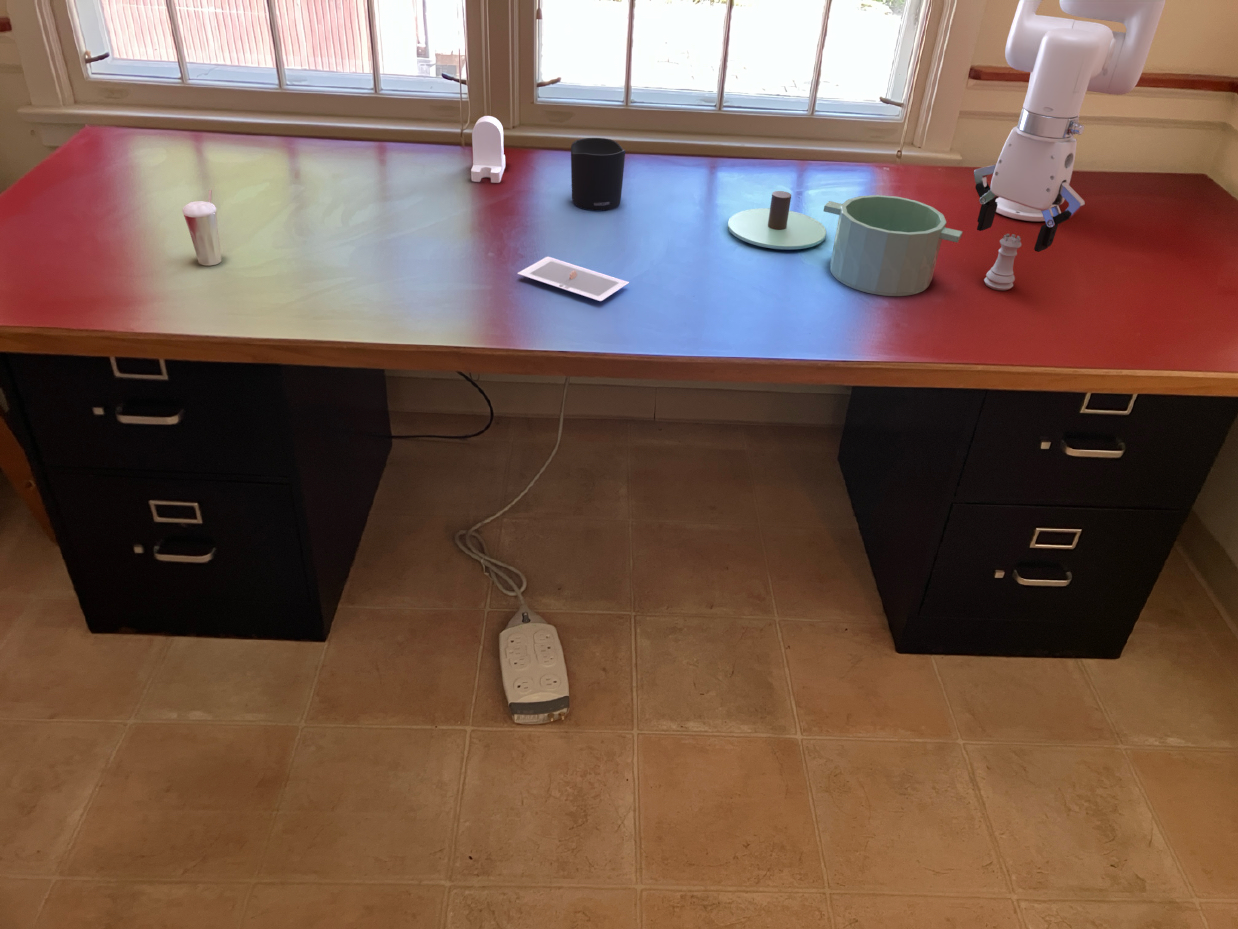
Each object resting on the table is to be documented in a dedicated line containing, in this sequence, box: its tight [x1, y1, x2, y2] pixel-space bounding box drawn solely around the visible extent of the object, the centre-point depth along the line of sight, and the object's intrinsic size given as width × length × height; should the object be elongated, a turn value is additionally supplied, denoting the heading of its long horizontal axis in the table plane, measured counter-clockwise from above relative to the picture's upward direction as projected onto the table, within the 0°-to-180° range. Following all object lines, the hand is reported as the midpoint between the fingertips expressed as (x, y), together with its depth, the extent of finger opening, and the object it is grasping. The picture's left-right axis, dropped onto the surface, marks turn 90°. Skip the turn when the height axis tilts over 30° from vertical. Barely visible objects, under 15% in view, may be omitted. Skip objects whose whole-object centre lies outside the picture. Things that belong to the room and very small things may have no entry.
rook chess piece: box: [983, 233, 1023, 291], centre depth 150 cm, size 4×4×8 cm
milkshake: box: [181, 189, 222, 267], centre depth 143 cm, size 4×5×10 cm
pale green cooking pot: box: [823, 194, 963, 297], centre depth 151 cm, size 16×21×10 cm
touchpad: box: [516, 255, 630, 302], centre depth 145 cm, size 8×15×2 cm, turn 58°
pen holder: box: [570, 137, 626, 212], centre depth 170 cm, size 9×9×10 cm
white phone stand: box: [470, 115, 506, 184], centre depth 179 cm, size 5×10×10 cm, turn 179°
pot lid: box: [727, 190, 827, 250], centre depth 163 cm, size 17×17×7 cm
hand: (1011, 238), depth 147 cm, fingers open, 9 cm apart
